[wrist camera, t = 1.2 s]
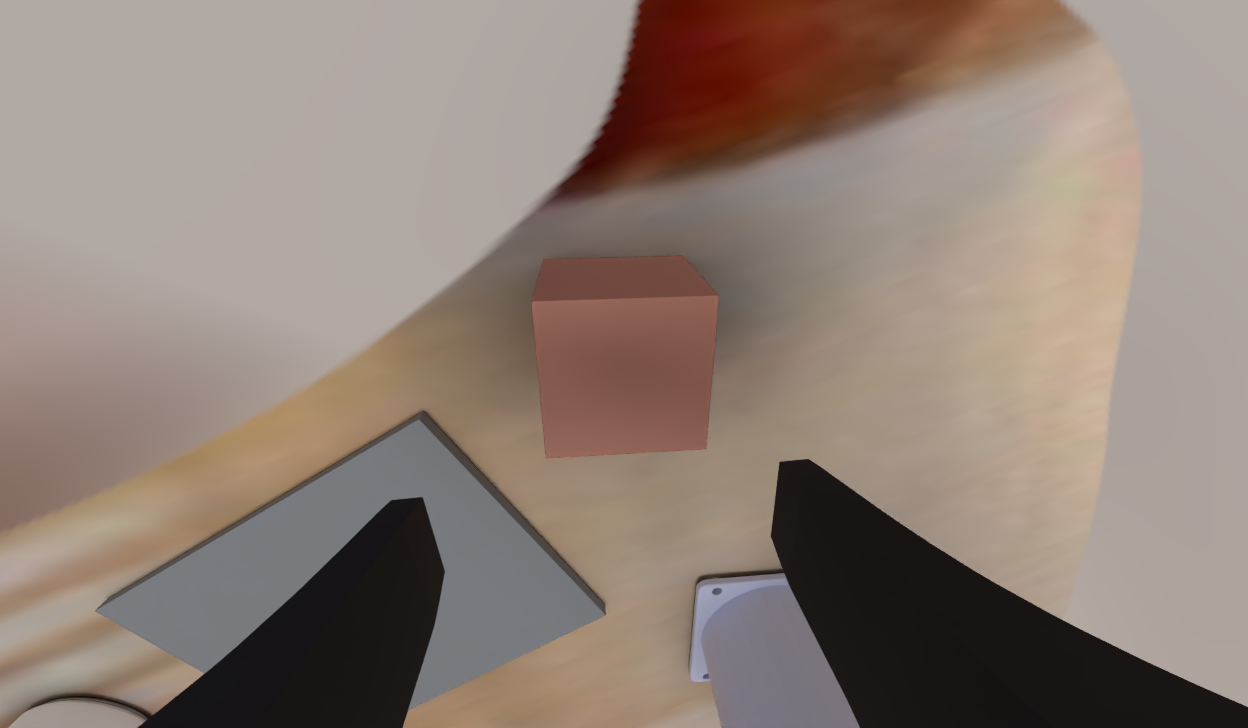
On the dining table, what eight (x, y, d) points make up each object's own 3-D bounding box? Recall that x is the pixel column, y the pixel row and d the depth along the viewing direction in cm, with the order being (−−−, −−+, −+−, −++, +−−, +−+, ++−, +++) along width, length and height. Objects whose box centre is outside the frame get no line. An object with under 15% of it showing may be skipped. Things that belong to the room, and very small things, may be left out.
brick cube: (682, 255, 17) (719, 295, 13) (676, 377, 19) (706, 448, 15) (543, 258, 17) (531, 301, 12) (553, 383, 19) (545, 458, 14)
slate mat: (423, 411, 19) (418, 419, 18) (605, 604, 25) (605, 615, 24) (107, 599, 21) (94, 610, 21) (338, 734, 27) (333, 746, 27)
